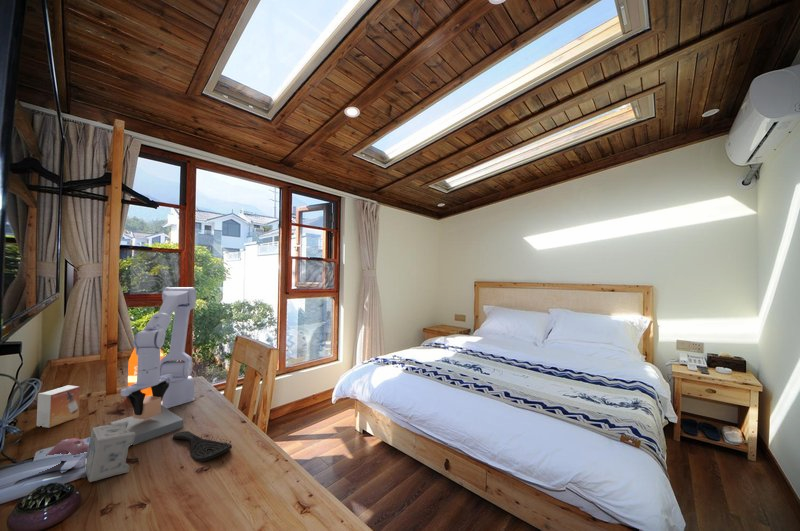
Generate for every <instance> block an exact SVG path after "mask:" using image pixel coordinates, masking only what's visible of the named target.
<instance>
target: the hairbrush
mask: <svg viewBox="0 0 800 531" xmlns="http://www.w3.org/2000/svg"><path fill="white" fill-rule="evenodd" d="M213 438H214V437H213V436H212V437H211V438H210V439H207V438H206V439H205V436H204V437H202V436H201V437H200V436H198V435H197V434H194V433H193V432H190V431H189V430H186V431H180V432H176V433H174V434H173V435H172V439H174V440H175V439H176V440H186V441H189V442H190V450H189V452H190V456H191V458H192V459H193V460H194V461H196V462H204V461H208V460H211V459H213V458H216V457H218V456H220V455H222V454H224V453H227V451H228V452H229V451H230V450H231V449H232V448H233V444H231V442H232V440H229V441H228V440H227V439H222V440H221V438H217V437H216V438H214V439H213ZM215 439H216V440H215ZM218 439H219V440H218Z"/></svg>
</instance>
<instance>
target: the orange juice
mask: <svg viewBox="0 0 800 531" xmlns="http://www.w3.org/2000/svg"><path fill="white" fill-rule="evenodd" d="M163 357H165V354H164V352H163V350H162V349H161V354H160V361H161V359H162V358H163ZM137 362H138V355H136V350H135V347H134V348H133V351H132V352H131V355H130V357H129V359H128V369H127V372H128V373H127V374H128V375H127V387H129V386H131V385H133V384H135V383H136V381H137ZM141 392H142V393H145V394H146V395H145V397H147V396H153V395H152V390H151V387H149V388H147V389H144V390H141Z"/></svg>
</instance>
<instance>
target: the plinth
mask: <svg viewBox="0 0 800 531" xmlns="http://www.w3.org/2000/svg"><path fill="white" fill-rule="evenodd" d="M123 422H128V426H127V430H128V431H129V432H135V440H134V442H133V446H135V445H137V444H141V443H144V442H146V441H149V440H151V439H152V440H153V439H154V438H157V437H160V436H163V435H165V434H167V433H171V432H174V431H176V430H179V429H182V428H184V419H183V418H182V417H180V416H178V414H176V413H174V412H172V411H171V410H169V408H167V409H166V408H165V407H163V406H161V413H159V414H157V415H155V416H152V417H150V418H148V419H146V420H143V419H137V418H133V415H131V416H128V417H124V418H121V419H117V420H114V421H110V423H109V425H111V424H116V423H123Z"/></svg>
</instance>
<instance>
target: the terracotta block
mask: <svg viewBox="0 0 800 531" xmlns="http://www.w3.org/2000/svg"><path fill="white" fill-rule="evenodd" d="M161 407H162V406H161V397H156V396H147V397H145V398H144V401H143V411H142V414H141V415H135V413H134V410H133V409H132V416H133V418H137V419H143V420H146V419H148V418H150V417H152V416H155V415H157V414H159V413H161Z"/></svg>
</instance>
